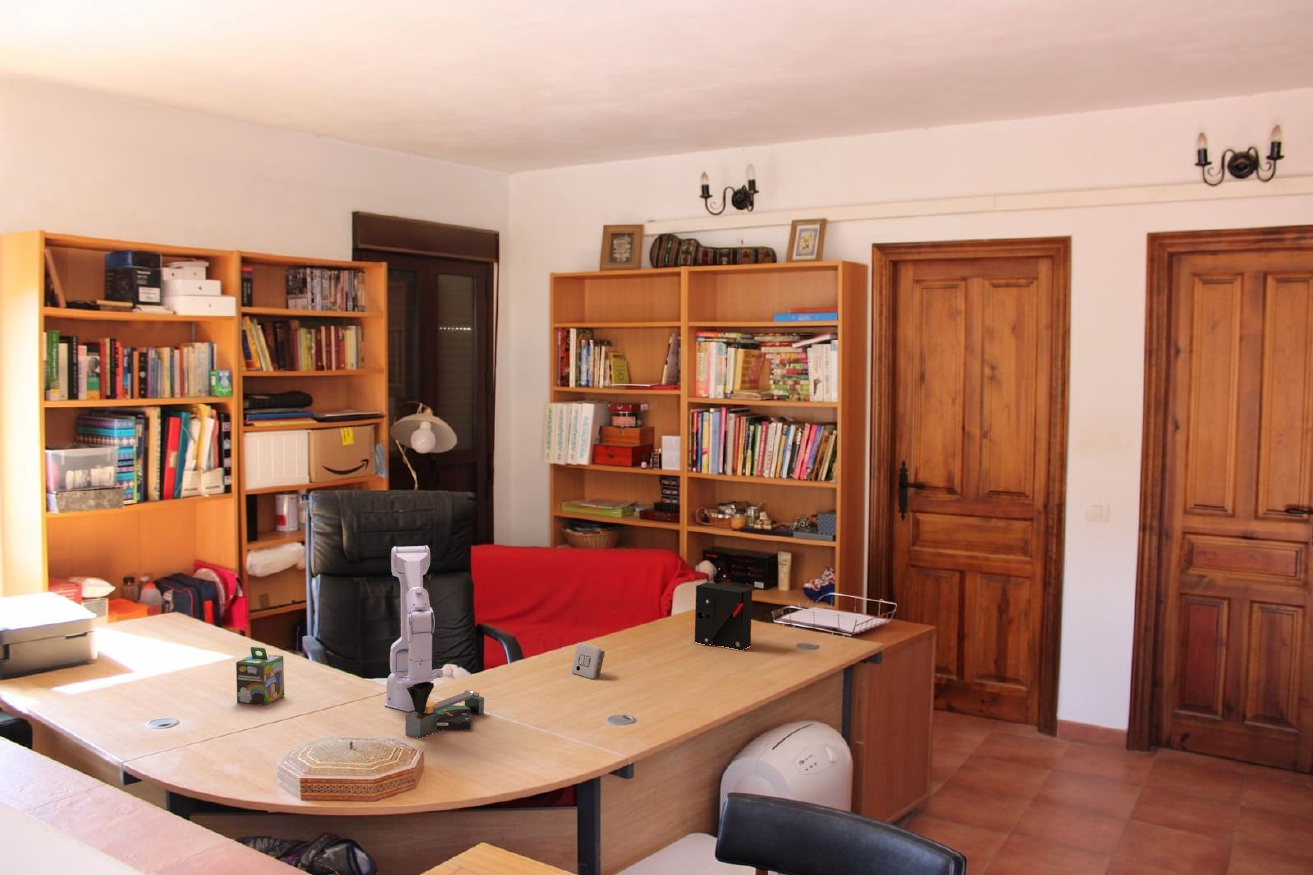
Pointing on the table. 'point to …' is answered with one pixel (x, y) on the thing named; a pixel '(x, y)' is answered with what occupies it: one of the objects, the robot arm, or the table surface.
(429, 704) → the orange stepped block
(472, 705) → the shiny metal block
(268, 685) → the chalk box
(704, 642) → the electrical component
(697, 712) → the table surface
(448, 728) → the disk drive
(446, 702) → the grey flat bar
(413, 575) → the robot arm
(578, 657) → the electrical switch
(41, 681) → the table surface
